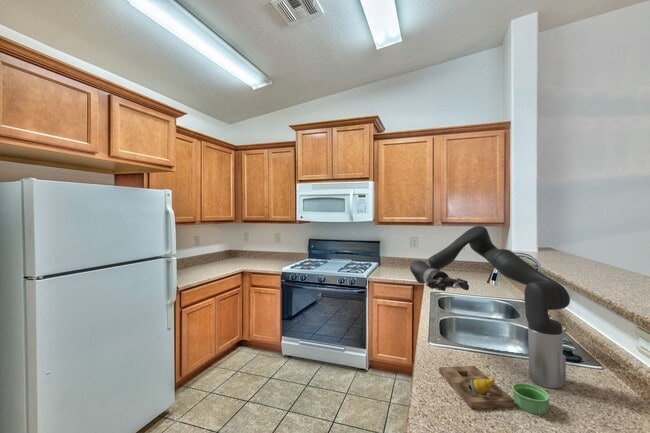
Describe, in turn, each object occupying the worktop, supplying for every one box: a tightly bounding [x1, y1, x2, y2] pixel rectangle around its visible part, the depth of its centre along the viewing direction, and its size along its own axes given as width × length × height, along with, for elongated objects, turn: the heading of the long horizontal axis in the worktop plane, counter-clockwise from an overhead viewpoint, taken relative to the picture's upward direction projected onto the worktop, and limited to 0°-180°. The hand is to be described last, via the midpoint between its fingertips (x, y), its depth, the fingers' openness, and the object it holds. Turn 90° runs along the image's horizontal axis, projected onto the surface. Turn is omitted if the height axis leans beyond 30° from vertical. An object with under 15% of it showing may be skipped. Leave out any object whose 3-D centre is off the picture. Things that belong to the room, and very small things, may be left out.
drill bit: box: [470, 378, 496, 395], centre depth 90 cm, size 5×5×10 cm
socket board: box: [438, 365, 515, 410], centre depth 95 cm, size 13×20×2 cm, turn 4°
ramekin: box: [512, 382, 551, 416], centre depth 86 cm, size 9×9×4 cm
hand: (456, 287), depth 106 cm, fingers open, 8 cm apart
